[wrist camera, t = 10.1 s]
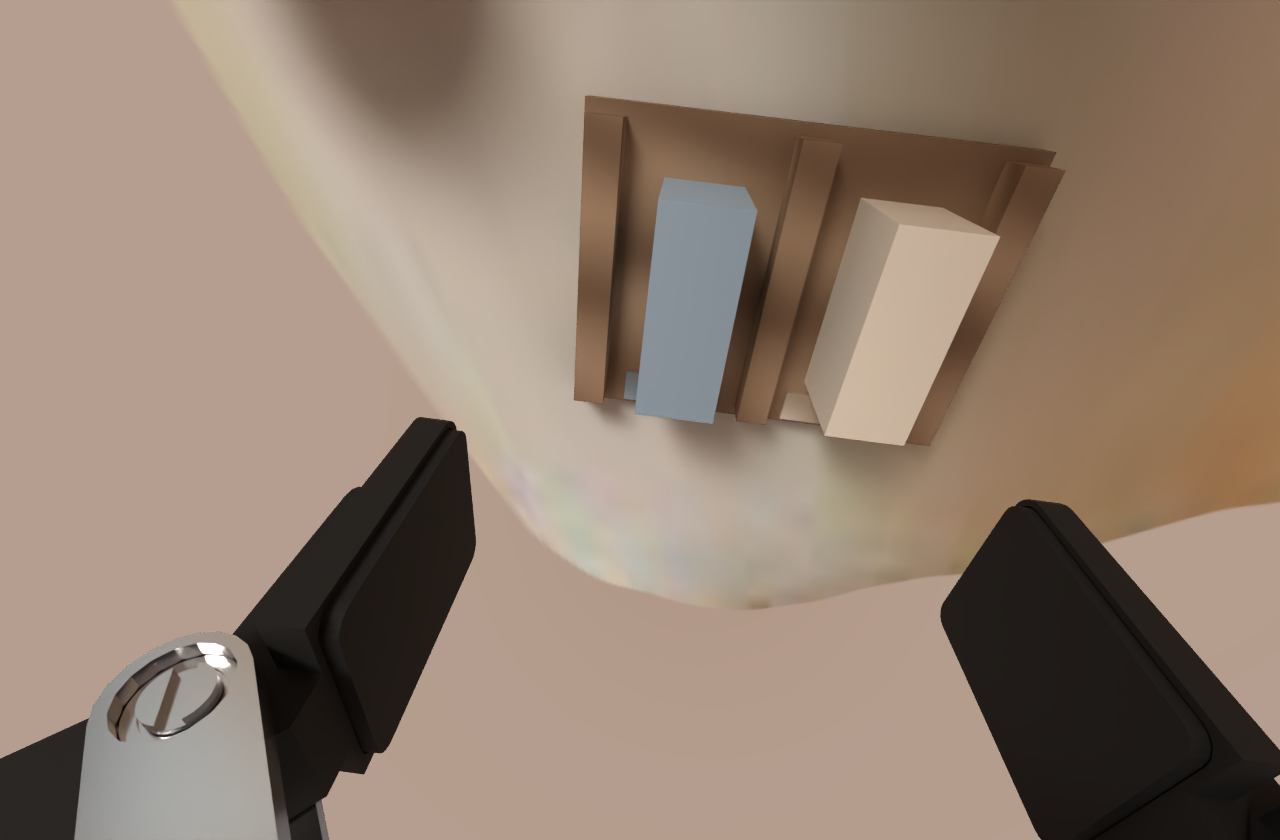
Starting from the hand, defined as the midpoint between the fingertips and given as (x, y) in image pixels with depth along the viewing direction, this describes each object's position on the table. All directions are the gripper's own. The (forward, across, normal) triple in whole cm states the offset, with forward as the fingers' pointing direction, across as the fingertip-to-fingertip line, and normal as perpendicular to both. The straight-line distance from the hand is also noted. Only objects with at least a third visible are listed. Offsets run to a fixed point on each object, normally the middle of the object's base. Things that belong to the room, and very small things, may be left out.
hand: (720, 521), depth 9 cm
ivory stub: (+18, -8, +2) cm, 20 cm away
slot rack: (+19, -4, +2) cm, 19 cm away
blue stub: (+18, 0, +2) cm, 18 cm away
